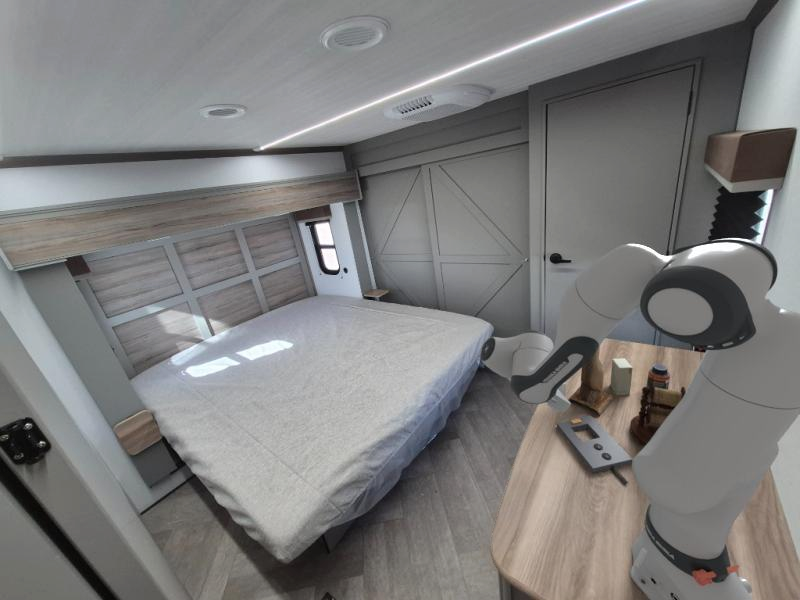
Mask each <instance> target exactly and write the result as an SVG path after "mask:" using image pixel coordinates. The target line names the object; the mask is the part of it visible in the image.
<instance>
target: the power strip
mask: <svg viewBox="0 0 800 600" xmlns="http://www.w3.org/2000/svg"><path fill="white" fill-rule="evenodd" d="M556 428H557V429H558V431H559V432H560V434H561V435H562V436H563V438H564V439H565V440H566V441H567V443H568V445H570V446H571V448H572V449H573V450H574V451H575V453H576V454H577V455H578V456H579V459H581V460H582V462H583V463H584V464H585V466H586V467H587V468H588V469H589V471H590V472H591V473H592V474H595V473H599V472H605V471H609V470H612V471H613V472H614V474H615V475H616V476H617V478H619V480H620V481H621V482H622V483H623V484H624V485H627V484H628V483H629V482H628V481H627V480H626V479H625V477H624V476H623V475H622V474H621V472H619V470H617V468H621V467H625V466H629V465H632V461H633V459H634V458H633V457H631V456H630V455H629V454H628V453H627V452H626V451H625V450H624V448H623V447H622V446H620V444H619V443H618V442H617V441H616V440H615V439H614V438H613V437H612V436H611V435H610V434H609V433H608V432H607V431H606V430H605V429H604V428H603V427H602V426H601V425H600V424H599V422H597V421H596V420H595V418H594V417H592V415H591V414H590V415H586V416H582V417H581V416H580V417H577V418H572V419H568V420H564V421H559V422H556ZM585 429H587V430H588V431H589V432H590V433H591V434H592V435H593V436H594V437H595V438H592V439H588V440H583V441H582V439H581V438H580V437H579V436H578V435H577V434H576V432H575V431H580V430H585Z"/></svg>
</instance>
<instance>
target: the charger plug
mask: <svg viewBox="0 0 800 600" xmlns="http://www.w3.org/2000/svg"><path fill="white" fill-rule="evenodd" d="M558 390H559V391H560V392H561V393H562V394H563V395H564V396H565V397H566V395H567V394H566V393H567V383H566V382H565V383H563V384H562V385H561V386H560V387H559V388H558ZM546 405H547V406H548V407H549V408H550V410H551V411H552V413H554V414H555V413H561V412H560V411H558V410H556V409H555V408H554V407H552V406H551V405H549V404H548V403H547V402H546Z"/></svg>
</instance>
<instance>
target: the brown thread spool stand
mask: <svg viewBox="0 0 800 600" xmlns="http://www.w3.org/2000/svg"><path fill="white" fill-rule="evenodd" d="M641 391H642V392H641V393H642V395H641V398H640V406H641V407H639V411H638V415H636V416H634V417H632V419H631V421H630V423H629V431H630V432H631V434H632V436H633V437H634V438H635V439H636V440H637V441H638V444H639V445H644V447H645V446H646V444H647V443H648V442H649V441H650V440H651V438H652V437H653V436H654V434H655V433H656V431H657V430H658V429H659V427H660V426H661V425H662V423H663V422H664V421H665V419H666V418H667V417H668V416H669V414H670V413H671V412H672V411H673V410H674V408H675V407H676V406H677V405H678V404H679V402H680V401H681V400H682V398H683V397H684V395H685V393H686V391H687V389H686V388H685V386H681V388H680V391H677V390H671V389H668V390H667V389H661V388H656V387H655V384H654V382H652V384H651V390H650V388H648V387H646V386H643V387H642V389H641ZM649 393H650V394H649ZM649 395H650V401H649Z"/></svg>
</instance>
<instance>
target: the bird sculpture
mask: <svg viewBox="0 0 800 600" xmlns="http://www.w3.org/2000/svg"><path fill="white" fill-rule="evenodd" d="M600 349H601V345H600V346H599V348H598V350H597V351H596V353H595V354H594V356H593V357H592V358H591V359H590V360H589V361H588V362H587V363H586V364H585V365H584V366H583V367H582V368H581V372H580V386H579V388H577V390H576V391H575V392H574V393H573V394H572V395H571V396H570V397H569V398H567V399H568V401H569V402H570V401H574V402H575V401H576V402H577V403H580V404H582V405H583V406H584V405H585V406H588V407H589V408H590V409H592V410H594V411H596V412H597V413H598V415H599V417H601V415H602V414H604V412H605V411H606V409H607V408H608V406H610V404H611V403H612V401H613V396H612V395H611V394H610V393H607V392H605V391H603V389H604V380H605V379H604V378H605V377H604V376H605V367H604V363H603V362H602V360H601V359H600Z"/></svg>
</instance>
